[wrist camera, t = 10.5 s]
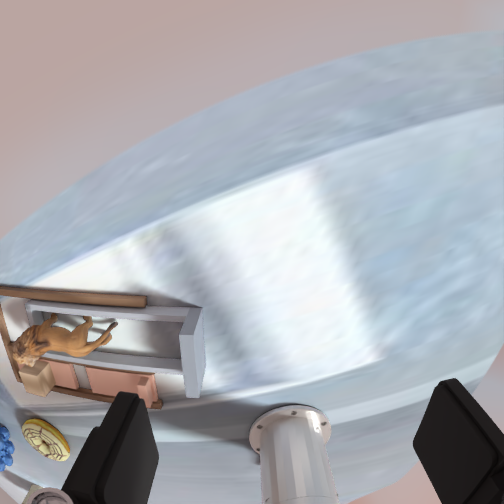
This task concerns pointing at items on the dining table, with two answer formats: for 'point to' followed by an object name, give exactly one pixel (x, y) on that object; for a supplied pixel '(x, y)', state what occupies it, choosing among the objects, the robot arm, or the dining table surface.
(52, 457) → the decorated donut
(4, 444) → the grapes
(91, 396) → the lane rails
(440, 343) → the dining table surface
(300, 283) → the dining table surface
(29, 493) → the can
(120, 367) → the grey long open box
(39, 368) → the cube
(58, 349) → the lion figurine
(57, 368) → the broken strip
